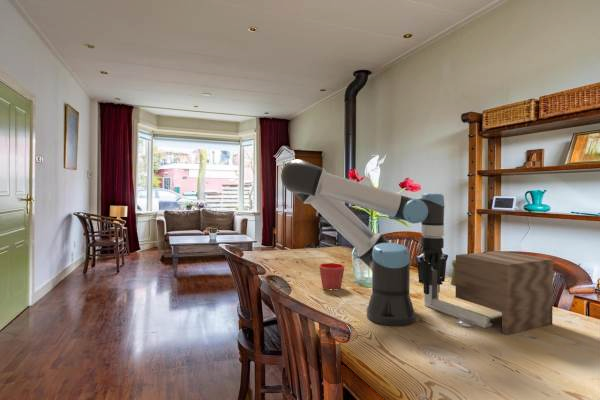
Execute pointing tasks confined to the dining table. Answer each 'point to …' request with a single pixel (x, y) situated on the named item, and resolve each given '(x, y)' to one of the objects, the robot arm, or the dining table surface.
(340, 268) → the flower pot
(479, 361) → the dining table surface
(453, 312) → the scraper
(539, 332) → the dining table surface
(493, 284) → the walnut cabinet
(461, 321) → the steel disc
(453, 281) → the cork
